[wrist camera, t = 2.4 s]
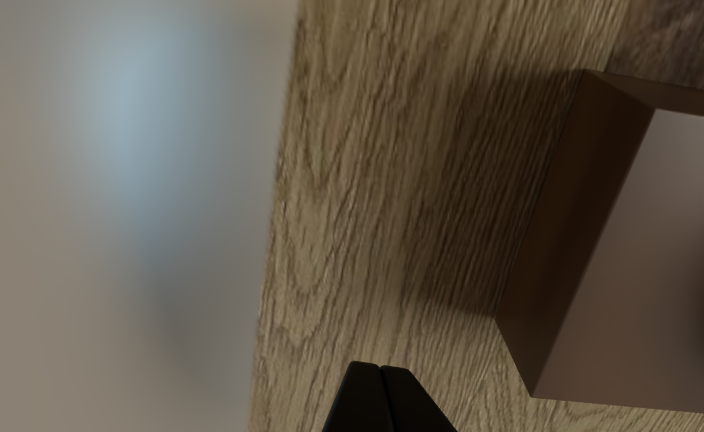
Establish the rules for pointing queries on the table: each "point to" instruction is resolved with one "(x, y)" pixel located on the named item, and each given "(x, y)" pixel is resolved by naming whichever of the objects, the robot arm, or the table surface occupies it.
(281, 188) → the table surface
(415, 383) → the robot arm
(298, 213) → the table surface
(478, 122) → the table surface
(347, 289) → the table surface
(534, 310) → the switch block
